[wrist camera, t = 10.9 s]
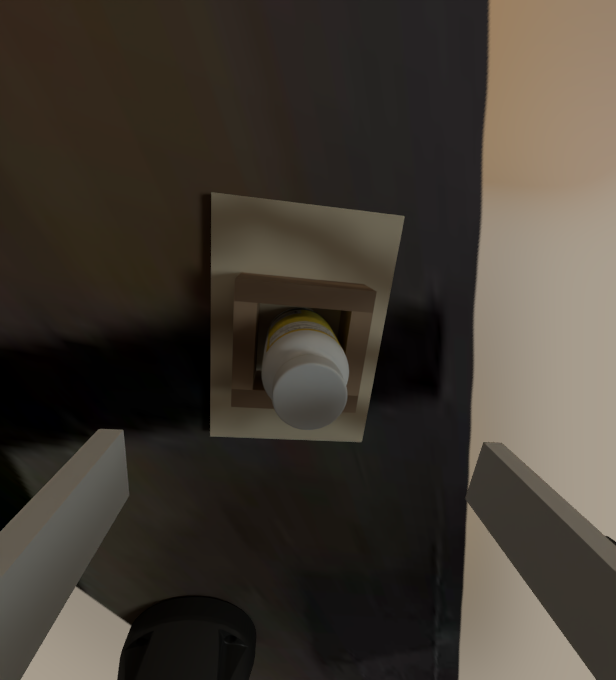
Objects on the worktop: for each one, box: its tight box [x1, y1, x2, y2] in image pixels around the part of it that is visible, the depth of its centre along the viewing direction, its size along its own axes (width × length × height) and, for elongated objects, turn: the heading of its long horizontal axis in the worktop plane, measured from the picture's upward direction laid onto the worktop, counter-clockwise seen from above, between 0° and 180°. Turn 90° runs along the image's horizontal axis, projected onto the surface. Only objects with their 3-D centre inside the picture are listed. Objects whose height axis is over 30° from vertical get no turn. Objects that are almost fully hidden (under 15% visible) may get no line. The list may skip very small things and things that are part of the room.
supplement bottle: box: [262, 308, 349, 430], centre depth 20 cm, size 5×5×10 cm
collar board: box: [210, 192, 405, 442], centre depth 24 cm, size 20×14×4 cm
